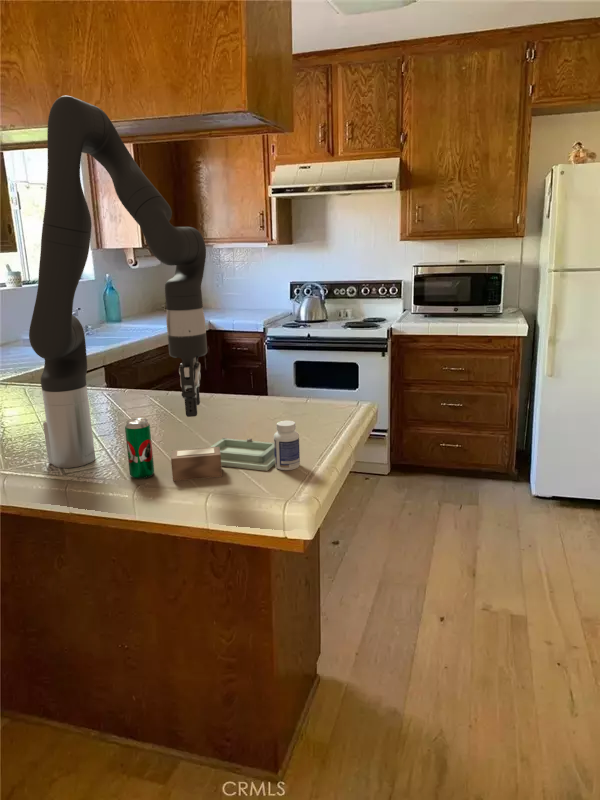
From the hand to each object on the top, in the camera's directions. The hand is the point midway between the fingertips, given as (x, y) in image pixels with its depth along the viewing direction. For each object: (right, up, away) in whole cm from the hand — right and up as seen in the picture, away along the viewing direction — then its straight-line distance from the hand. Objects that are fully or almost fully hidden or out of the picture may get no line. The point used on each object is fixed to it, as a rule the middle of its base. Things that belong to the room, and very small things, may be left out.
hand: (193, 410), depth 126 cm
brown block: (0, -14, +4) cm, 14 cm away
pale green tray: (+9, -11, +12) cm, 18 cm away
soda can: (-11, -14, +4) cm, 18 cm away
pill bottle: (+19, -12, +7) cm, 24 cm away
